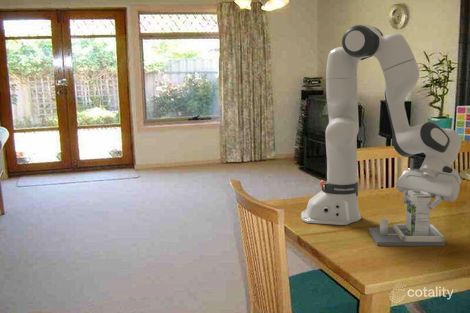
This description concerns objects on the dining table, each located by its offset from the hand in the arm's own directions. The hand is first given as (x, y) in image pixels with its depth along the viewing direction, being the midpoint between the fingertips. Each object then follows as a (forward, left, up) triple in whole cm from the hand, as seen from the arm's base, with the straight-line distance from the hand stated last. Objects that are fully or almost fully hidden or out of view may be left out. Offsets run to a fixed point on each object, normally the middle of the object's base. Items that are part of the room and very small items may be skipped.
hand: (417, 205), depth 153 cm
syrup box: (0, 0, -10) cm, 10 cm away
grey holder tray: (-4, 0, -11) cm, 12 cm away
